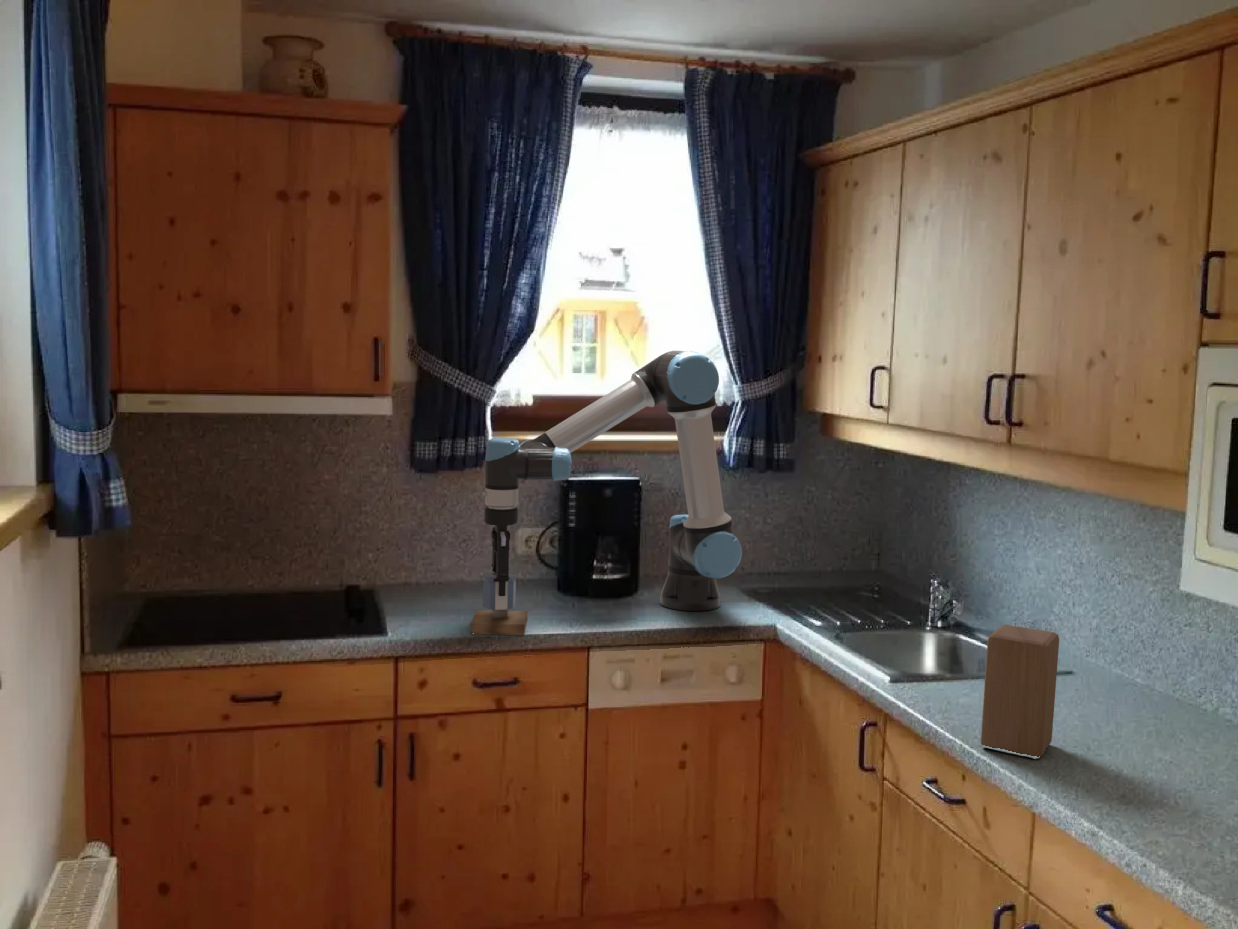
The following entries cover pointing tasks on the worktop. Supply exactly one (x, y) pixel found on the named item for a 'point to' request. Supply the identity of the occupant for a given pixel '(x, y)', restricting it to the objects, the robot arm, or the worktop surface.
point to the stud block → (499, 622)
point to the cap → (490, 591)
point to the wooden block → (1020, 689)
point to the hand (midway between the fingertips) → (499, 604)
